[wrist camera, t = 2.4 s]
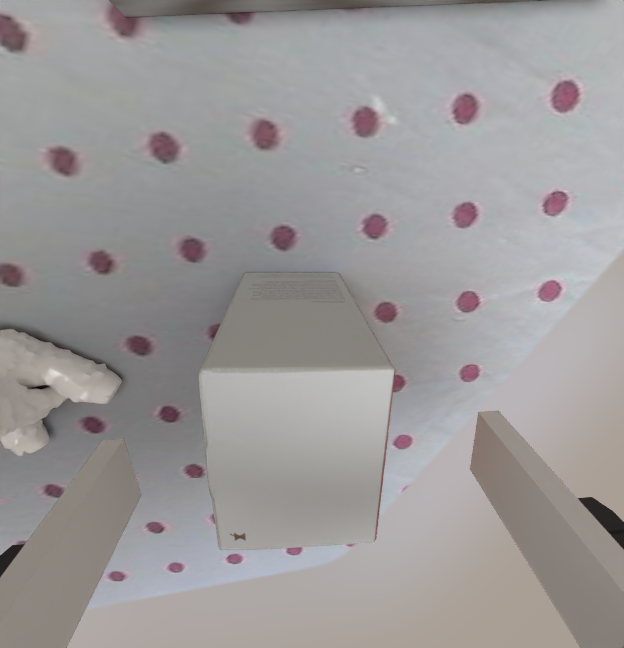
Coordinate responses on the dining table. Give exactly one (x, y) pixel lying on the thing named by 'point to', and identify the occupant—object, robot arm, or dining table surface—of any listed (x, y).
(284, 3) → the wall board
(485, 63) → the dining table surface
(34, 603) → the robot arm
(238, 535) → the small box
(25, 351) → the sitting furry creature
